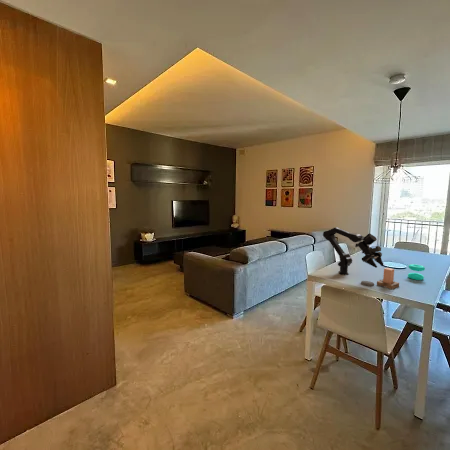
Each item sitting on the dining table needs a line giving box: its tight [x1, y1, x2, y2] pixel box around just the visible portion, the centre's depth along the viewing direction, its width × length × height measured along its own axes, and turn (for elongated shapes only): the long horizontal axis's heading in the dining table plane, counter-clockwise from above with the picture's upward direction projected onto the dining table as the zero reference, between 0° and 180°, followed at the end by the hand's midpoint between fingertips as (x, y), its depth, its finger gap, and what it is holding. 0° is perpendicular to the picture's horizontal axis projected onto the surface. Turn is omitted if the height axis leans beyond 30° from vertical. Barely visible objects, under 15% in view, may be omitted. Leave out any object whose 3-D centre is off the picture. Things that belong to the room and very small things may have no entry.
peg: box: [382, 267, 395, 284], centre depth 180 cm, size 5×5×12 cm
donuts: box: [407, 263, 426, 281], centre depth 197 cm, size 10×10×10 cm
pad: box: [360, 280, 375, 287], centre depth 184 cm, size 8×8×1 cm
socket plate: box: [376, 279, 400, 290], centre depth 181 cm, size 10×10×2 cm
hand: (379, 266), depth 185 cm, fingers open, 9 cm apart
